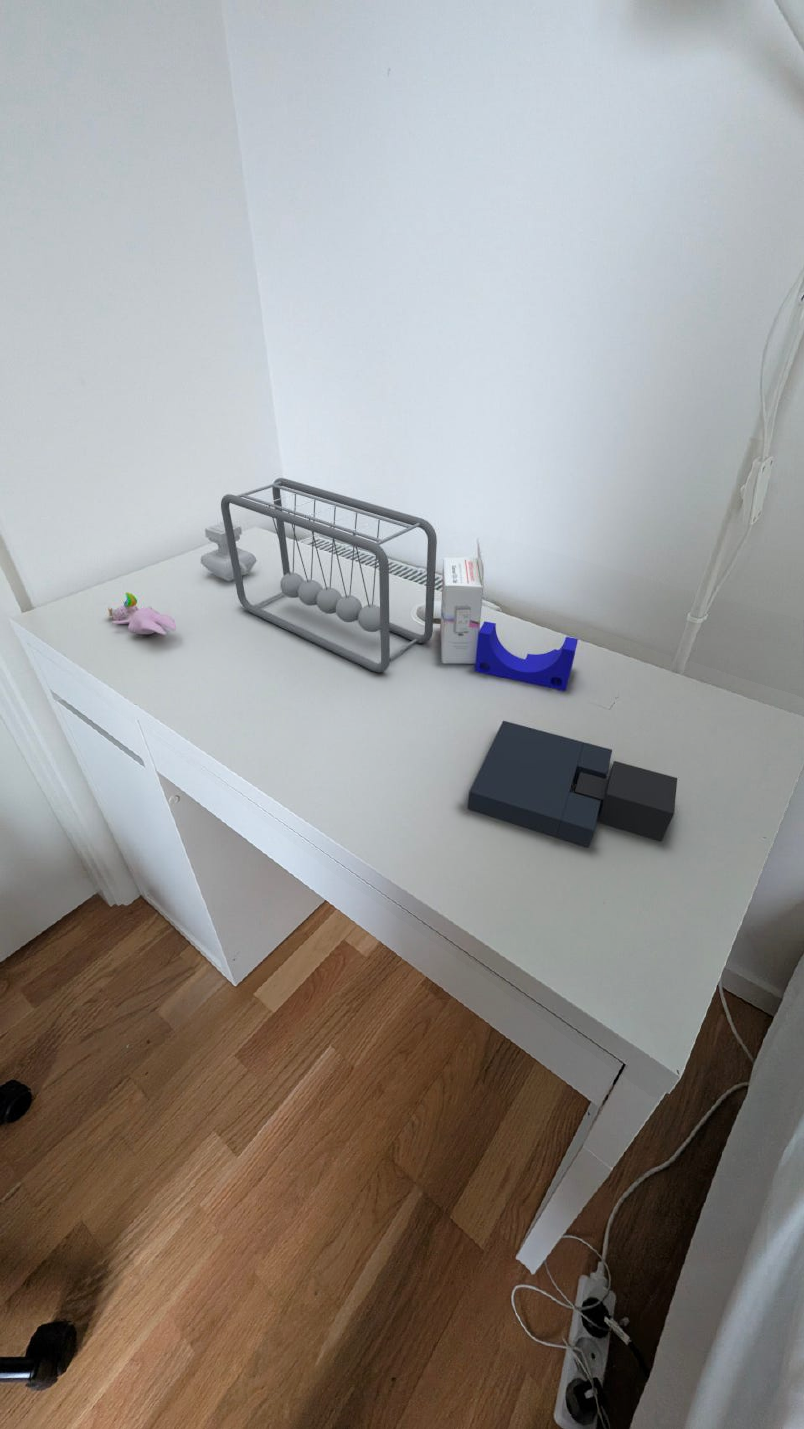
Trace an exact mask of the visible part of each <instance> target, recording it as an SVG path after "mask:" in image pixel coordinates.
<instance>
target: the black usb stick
mask: <svg viewBox="0 0 804 1429" xmlns="http://www.w3.org/2000/svg"><path fill="white" fill-rule="evenodd" d="M677 786H678V777H676V776H672V775H668V774H665V773H661V772H657V771H653V770H650V769H646V768H642V767H639V766H635V765H633V764H632V765H631V764H627V763H624V762H621V761H616V760H614V761H613V762H612V765H611V768H610V772H609V775H608V777H607V778H606V779H604V778H600V777H597V776H593V775H590V774H586V773H583V772H580V775H579V778H578V782H577V784H575V788H574V789H575V790H574V792H573V793H576V794H579V795H582V796H586V797H589V798H592V799H596V800H599V801H601V803H600V807H599V811H598V816H597V823H600V824H604V825H607V826H610V827H613V828H616V829H618V830H619V829H620V830H623V831H626V832H628V833H629V832H630V833H633V834H636V835H640V836H642V837H644V838H649V839H652V840H655V841H658V842H662V841H663V839H664V837H665V835H666V833H667V830H668V828H669V826H670V824H671V822H672V820H673V818H674V815H675V810H676V799H677V798H676V797H677Z"/></svg>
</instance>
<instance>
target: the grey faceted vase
mask: <svg viewBox="0 0 804 1429" xmlns="http://www.w3.org/2000/svg"><path fill="white" fill-rule="evenodd" d="M232 525H233V531H234V536H235V542H238V541H240V539H241V537H240V536H241V535H243V533H242V526H241V525H239V524H235V523H233V522H232ZM204 530H205V531H204V534H205V535H204V536H205V538H208V540H209V542H212V543H214V544H216V545H217V547H218V548H217V549H215V550H211V551H210V552H207V553H205V554H202V555H201V556H200V564H201V565H202V566H203V567H204V568H206V569H207V571H209V572H210V573H211V574H212V575H214V576H216V577H218V578H220V579H223V580H225V581H227V582H231V581H233V580H235V579H234V574H233V569H232V563H231V558H230V553H229V548H228V542H227V537H226V532H225V527H224V521H221V522H220V523H217V524H214V525H211V526H209V527H206V528H204ZM237 553H238V558H239V564H240V569H241V575H242V576H245V575H247V574H249V573H250V572H251V570H252V569H253V567H254V566H255V564H256V562H257V561H258V560H257V557H256V556H255V554H253V553H252V552H249V551H247V550H244V549H242V548H239V547H237Z"/></svg>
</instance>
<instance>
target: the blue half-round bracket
mask: <svg viewBox="0 0 804 1429" xmlns="http://www.w3.org/2000/svg"><path fill="white" fill-rule="evenodd" d="M496 625H497V623H495V622H491V621H486V620H485V621H483V623H482V624H481V626H480V630H479V633H478V643H477V653H476V663H474V664H475V665H474V672H476V673H479V674H480V673H482V674H484V675H490V676H494V677H499V678H503V679H508V680H513V681H518V682H522V683H527V684H531V685H536V686H541V687H545V688H550V689H555V690H559V691H564V692H566V691H567V687H568V684H569V680H570V676H571V674H572V669H573V665H574V661H575V655H576V650H577V646H578V641H579V638H575V637H570V636H565V639H564V641H563V643H562V645H561V646H560V648H559V649H556V648H555V649H552V650H550V651H547V652H544V653H539V654H535V653H527V654H526V657H525V659H524V658H521V657H518V656H516V655H514V654H513V653H512V652H510V651H509V650H508V649H506V648H505V647H504V646H503V644H502V643H501V641H500V640H499V637H498V634H497V628H496V627H497V626H496Z"/></svg>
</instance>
